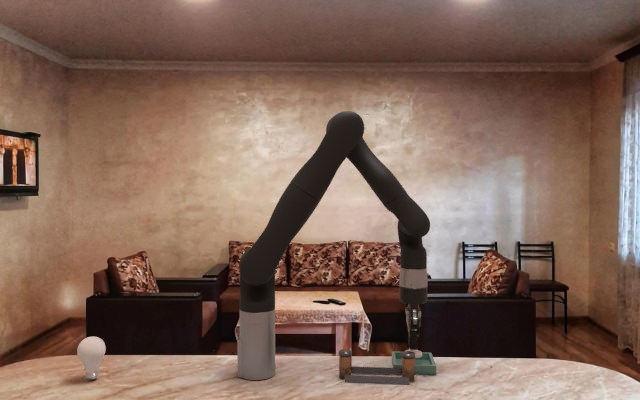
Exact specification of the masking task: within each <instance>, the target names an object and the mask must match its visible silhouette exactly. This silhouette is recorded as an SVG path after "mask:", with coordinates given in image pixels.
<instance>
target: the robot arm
mask: <svg viewBox="0 0 640 400" xmlns="http://www.w3.org/2000/svg"><path fill="white" fill-rule="evenodd" d="M325 127H326V128H325V135H324V136H323V138H322V140H321V142H320V144H319V145H318V147H317V149H316V150H315V151H314V153H313V154H312V156H311V157H310V158H309V159H307V161H306V162H305V163H304V164H303V165H302V167H301V168H300V169H299V170H298V171H297V173H296V174H295V175H294V176H293V178H292V179H291V181H290V182H289V184H288V185H287V186H286V188H285V190H284V191H283V193H282V194H281V196H280V198H279V200H278V202H277V204H276V206H275V208H274V209H273V211H272V214H271V216H270V217H269V220H268V223H267V224H266V226H265V228H264V230H263V231H262V233H261V234H260V235H259V237H258V238H257V239H256V241H255V242H254V243H253V244H252V246H251V247H250V248H248V249H247V250H244V252H243V253H242V256H241V257H240V260H239V263H238V271H239V300H238V301H239V302H238V303H239V337H238V340H237V343H236V344H237V347H236V348H237V349H236V350H237V355H236V356H237V378H242V379H245V380H248V381H262V380H267V379H271V378H272V377H274V376H275V374H276V270H277V268H278V265H279V263H280V261H281V260H282V258H283V256H284V254H285V253H286V250H287V249H288V247H289V245H290V244H291V242H292V241H293V239H294V238H295V237H296V236H297V234H299V232H300V231H301V230H302V228H303V227H304V225H305V224H306V223H307V222H308V220H309V218H310V217H311V216H312V214H313V213H314V212H315V209H316V208H317V207H318V205H319V204H320V202H321V201H322V199H323V197H324V195H325V194H326V192H327V190H328V189H329V186H330V185H331V184H332V181H333V179H334V178H335V176H336V173H337V172H338V170H339V169H340V167H341V165H342V164H343V163H344V162H345V160H346V158H347V159H348V161H349V162H350V163H351V164H352V165H353V166H354V168H355V169H357V171H358V172H359V174H360V176H361V177H362V178H363V179H364V180H365V181H366V183H367V184H368V186H369V187H370V189H371V190H372V191H373V193H374V194H375V196H376V197H377V198H378V200H379V201H380V202H381V204H382V205H383V206H384V207H385V209H387V211H389V212H390V213H391V214H393V216H395V217H396V219H397V236H398V243H399V249H400V264H399V266H400V268H399V280H398V282H399V283H398V285H399V287H398V289H399V291H398V292H399V294H398V295H399V299H398V300H399V302H401V303H403V304H408V305H407V307H405V317H406V318H405V319H406V320H405V321H406V327H407V332H408V341H407V342H408V346H409V347H408V349H409V348H410V349H411V350H417V349H418V347H419V343H418V342H419V340H418V339H419V336H420V328H421V317H422V309H421V307H419V305H420V304H421V305H423V304H425V303H428V270H427V269H428V267H427V263H428V261H427V256H428V255H427V249H426V248H425V246H424V244H423V237H425V236H427V234H428V233H429V232H430V229H431V221H430V219H429V216H428V215H427V214H426V212H425V210H423V208H422V207H420V206H419V204H418V203H417V202H416V201H415V200H414V199H413V198H412V197H411V196H409V193H407V191H406V189H405V187H403V185H402V184H401V183H400V181H399V180H398V178H397V177H396V175H395V174H394V173H393V172H392V171H391V170H390V169H389V168H388V167H387V166H386V165H385V164H384V163H383V162H382V161H381V160H380V159H379V158H378V157H377V156H376V155H375V153H374V152H373V151H372V150H371V148H370V147H369V145H368V144H367V142H366V141H365V139H364V137H363V136H364V134H365V123H364V121H363V118H362V117H361V115H359V114H358V112H355V111H351V110H345V111H341V112H338V113H336V114H335V115H333V116H332V117H331V118H330V119H329V120H328V121H327V123H326V126H325ZM412 329H416V331H412Z"/></svg>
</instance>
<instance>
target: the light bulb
mask: <svg viewBox="0 0 640 400" xmlns="http://www.w3.org/2000/svg"><path fill="white" fill-rule="evenodd" d="M76 349H77V351H76V352H77V357H78V359H79V360H80V362H81V363H82V364H83V368H84V371H85V375H84V376H85V378H86V380H89V381H93V380H95V379H98V377H99V371H98V370H99V369H100V363H101V361H102V359H103V358H104V355H105V353H106V351H107V350H106V349H107V347H106V344H105V341H104V340H103V339H102V338H100V337H97V336H88V337H85V338H83V340H81V341H80V342H79V344H78V346H77V348H76Z"/></svg>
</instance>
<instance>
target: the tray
mask: <svg viewBox="0 0 640 400" xmlns="http://www.w3.org/2000/svg"><path fill="white" fill-rule="evenodd" d="M402 352H403V351H391V363H392V368H402ZM421 352H422V351H421ZM417 374H418V375H420V376H421V375H423V376H437V365H436V362H435V358H434V356H433V354H432V352H426V351H424V352H422V357H419V358H415V375H417Z"/></svg>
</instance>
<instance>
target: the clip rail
mask: <svg viewBox="0 0 640 400" xmlns="http://www.w3.org/2000/svg"><path fill="white" fill-rule="evenodd" d="M401 352H402V368H393V367H389V366H388V367H385V366H384V367H383V366H357V365H356V366H355V365H352V364H353V363H352V361H353V358H352V357H353V350H351V349H347V348H344V349H340V350H338V358H339V359H338V365H339V366H338V378H339V379H340V380H343V381H344V383H349V384H350V383H351V384H352V383H353V384H375V385H377V384H380V385H382V384H383V385H401V386H403V385H404V386H405V385H406V386H408V385H410V383H413V382H415V375H416V374H415V353H414V352H411V351H406V350H404V351H401Z"/></svg>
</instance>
